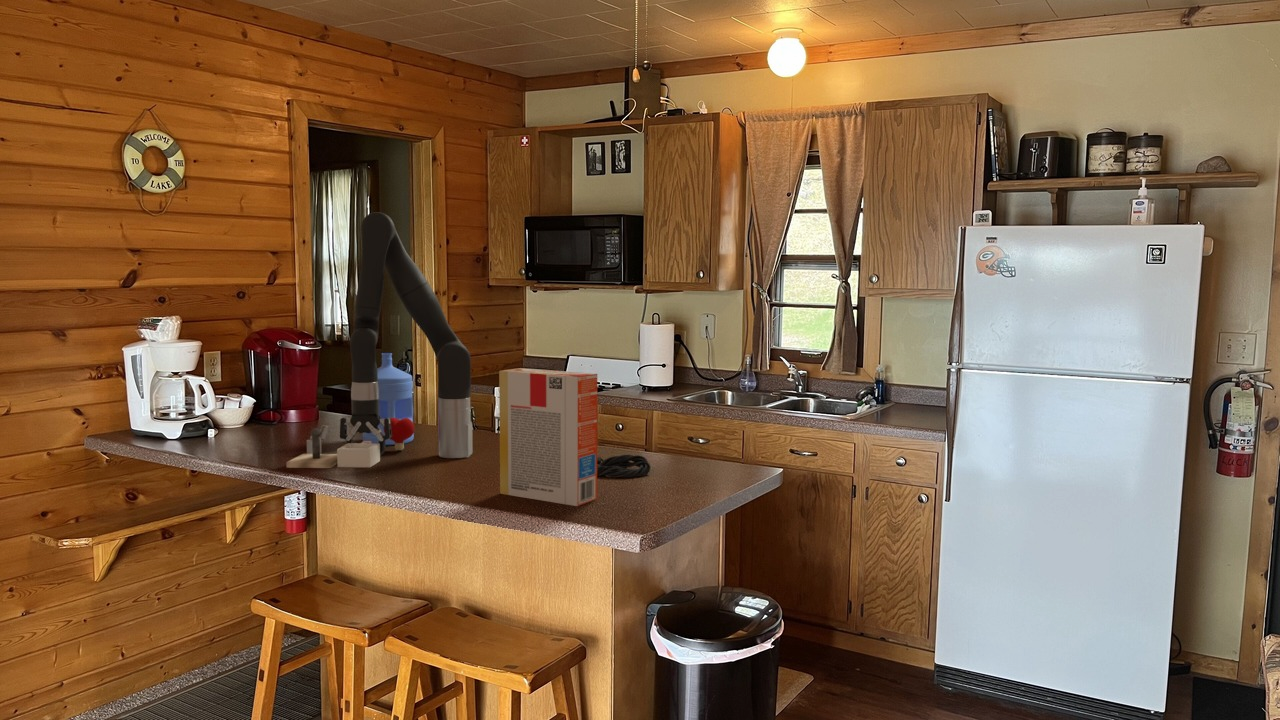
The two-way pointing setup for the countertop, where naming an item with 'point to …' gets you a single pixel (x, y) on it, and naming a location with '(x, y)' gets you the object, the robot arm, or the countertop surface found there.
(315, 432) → the beige peg base
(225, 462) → the countertop surface
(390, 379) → the water jug
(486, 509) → the countertop surface
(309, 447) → the lighter
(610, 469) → the cable
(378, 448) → the white square frame
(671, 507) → the countertop surface
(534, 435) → the pasta box
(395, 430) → the red heart
